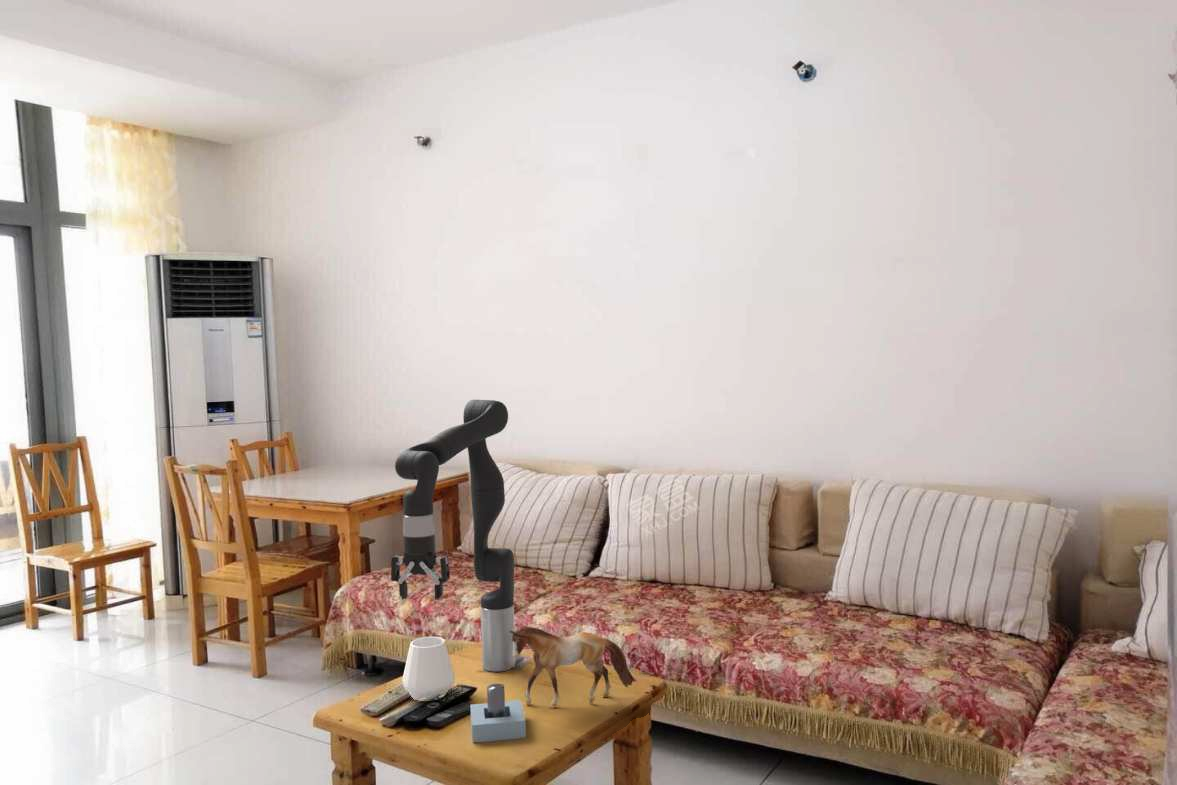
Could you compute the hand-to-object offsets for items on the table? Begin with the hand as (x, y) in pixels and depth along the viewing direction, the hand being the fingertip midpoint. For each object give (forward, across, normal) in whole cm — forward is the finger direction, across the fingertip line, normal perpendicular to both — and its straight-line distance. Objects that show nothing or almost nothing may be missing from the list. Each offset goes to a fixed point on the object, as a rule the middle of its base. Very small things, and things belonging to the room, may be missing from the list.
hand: (421, 598), depth 212 cm
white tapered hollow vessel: (+28, +3, -11) cm, 30 cm away
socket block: (+28, -21, +7) cm, 36 cm away
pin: (+28, -21, +7) cm, 36 cm away
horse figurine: (+28, -36, -7) cm, 47 cm away
